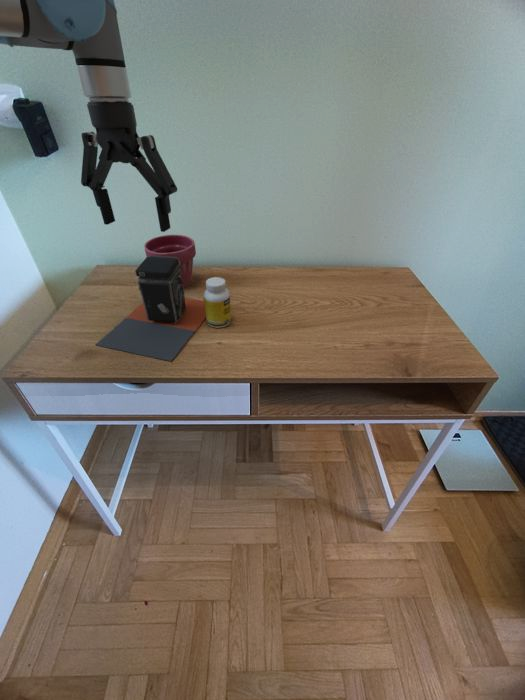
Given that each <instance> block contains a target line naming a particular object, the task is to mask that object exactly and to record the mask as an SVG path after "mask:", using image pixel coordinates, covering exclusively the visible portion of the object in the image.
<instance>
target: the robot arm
mask: <svg viewBox="0 0 525 700" xmlns="http://www.w3.org/2000/svg"><path fill="white" fill-rule="evenodd" d="M117 15H118V10H117V7H116V4H115V0H0V45H6V46H9V47H11V48H14V47H27V48H37V49H51V50H63V51H72V53H73V56H74V60H75V64H76V66H77V68H76V69H77V72H78V75H79V76H78V77H79V79H80V84H81V87H82V93H83V96H84V97H85V98H88V100H89V101H87V104H86V106H87V110H88V115H89V118H90V122H91V125H92V127H93V128H94V129H95V132H94V131H87V132H82V133H81V139H82V145H83V150H82V151H83V152H82V163H81V176H80V183H81V185H82V186H83V187H87V188H89V189H90V190H91V191H92V195H93V197H94V201H95V203H96V206H97V207H99V211H100V214H101V217H102V221H103V224H104V225H111V224H112V223H114V222H116V219H115V213H114V210H113V206H112V203H111V199H110V195H109V191H108V189H107V188H105V182H106V181H107V178H108V175H109V173H110V170H111V168H112V166H113V164H114V163H122V164H130V165H131V166H132V167H134V168H135V169H136V170H137V172H138V173H139V174H140V175H141V176H142V177H143V179H144V180H145V181H146V182H147V184H148V185H149V186H150V187H151V188H152V190H153V191H154V192H155V194H156V195H157V196H155V197H154V201H155V207H156V212H157V218H158V224H159V229H160V232H161V233H165V232H167V231H168V230H169V229H171V222H170V215H169V214H171V212H172V208H171V207H172V206H171V201H170V200H171V199H170V195H173V194H175V193H176V192H178V187H177V185H176V182H175V181H174V179H173V177H172V175H171V173H170V172H169V170H168V168H167V166H166V164H165V162H164V160H163V158H162V156H161V155H160V152H159V151H158V148H157V144H156V139H155V137H154V135H152V134H148V135H143V136H139V134H138V132H137V126H138V125H137V124H138V123H137V118H136V112H135V108H134V104H133V103H132V102H129V99H131V98H132V92H131V87H130V80H129V76H128V70H127V66H126V60H125V54H124V49H123V44H122V37H121V33H120V26H119V20H118V16H117ZM99 147H100V149H101V150H100V153H99ZM140 149H141V150H143V152H144V154H143V152H141V150H140ZM98 153H99V156H98ZM145 156H146V157H145ZM147 160H148V162H149V163H148V162H147Z"/></svg>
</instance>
